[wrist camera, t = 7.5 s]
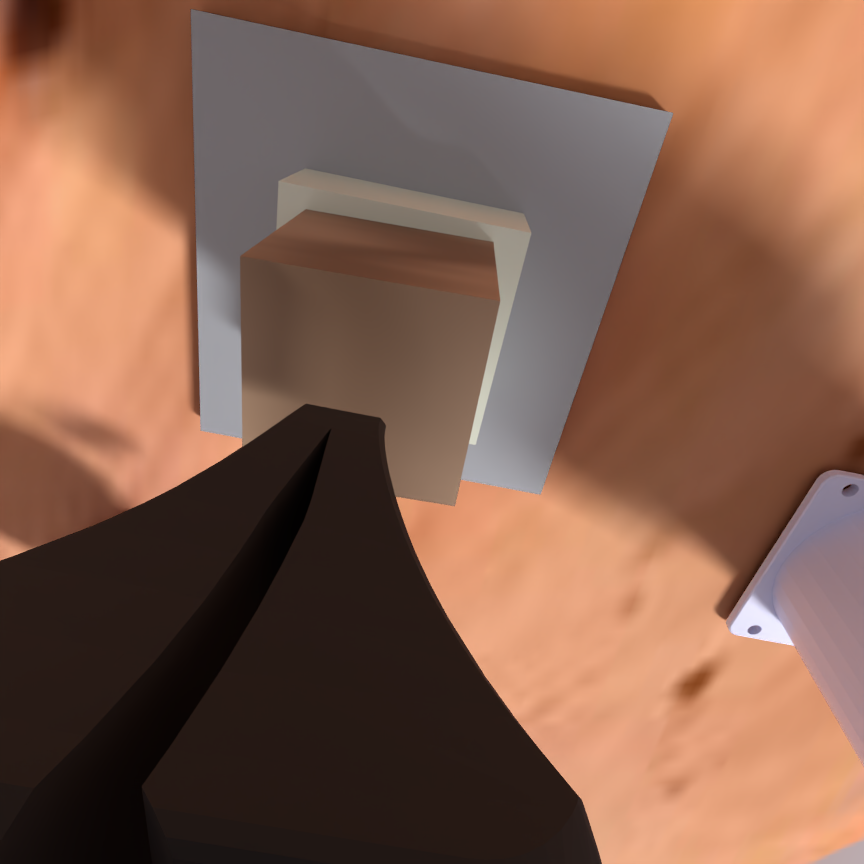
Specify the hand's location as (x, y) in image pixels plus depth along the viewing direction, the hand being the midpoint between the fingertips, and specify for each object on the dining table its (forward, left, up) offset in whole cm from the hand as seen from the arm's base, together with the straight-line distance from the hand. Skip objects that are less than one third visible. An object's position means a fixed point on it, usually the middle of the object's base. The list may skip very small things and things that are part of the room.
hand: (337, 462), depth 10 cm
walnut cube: (0, 0, -6) cm, 6 cm away
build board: (0, 0, -10) cm, 10 cm away
